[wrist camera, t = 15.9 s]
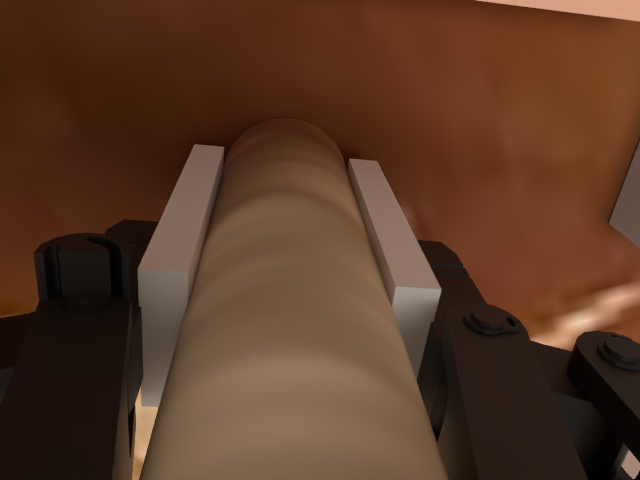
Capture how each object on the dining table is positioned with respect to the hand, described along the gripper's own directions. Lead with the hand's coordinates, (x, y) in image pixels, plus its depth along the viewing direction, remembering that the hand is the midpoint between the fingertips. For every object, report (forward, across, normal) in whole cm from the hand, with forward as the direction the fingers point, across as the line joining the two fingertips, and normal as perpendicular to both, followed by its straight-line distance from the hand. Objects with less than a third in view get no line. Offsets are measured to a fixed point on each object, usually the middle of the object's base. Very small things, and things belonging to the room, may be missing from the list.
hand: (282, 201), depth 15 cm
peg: (+2, 0, 0) cm, 2 cm away
